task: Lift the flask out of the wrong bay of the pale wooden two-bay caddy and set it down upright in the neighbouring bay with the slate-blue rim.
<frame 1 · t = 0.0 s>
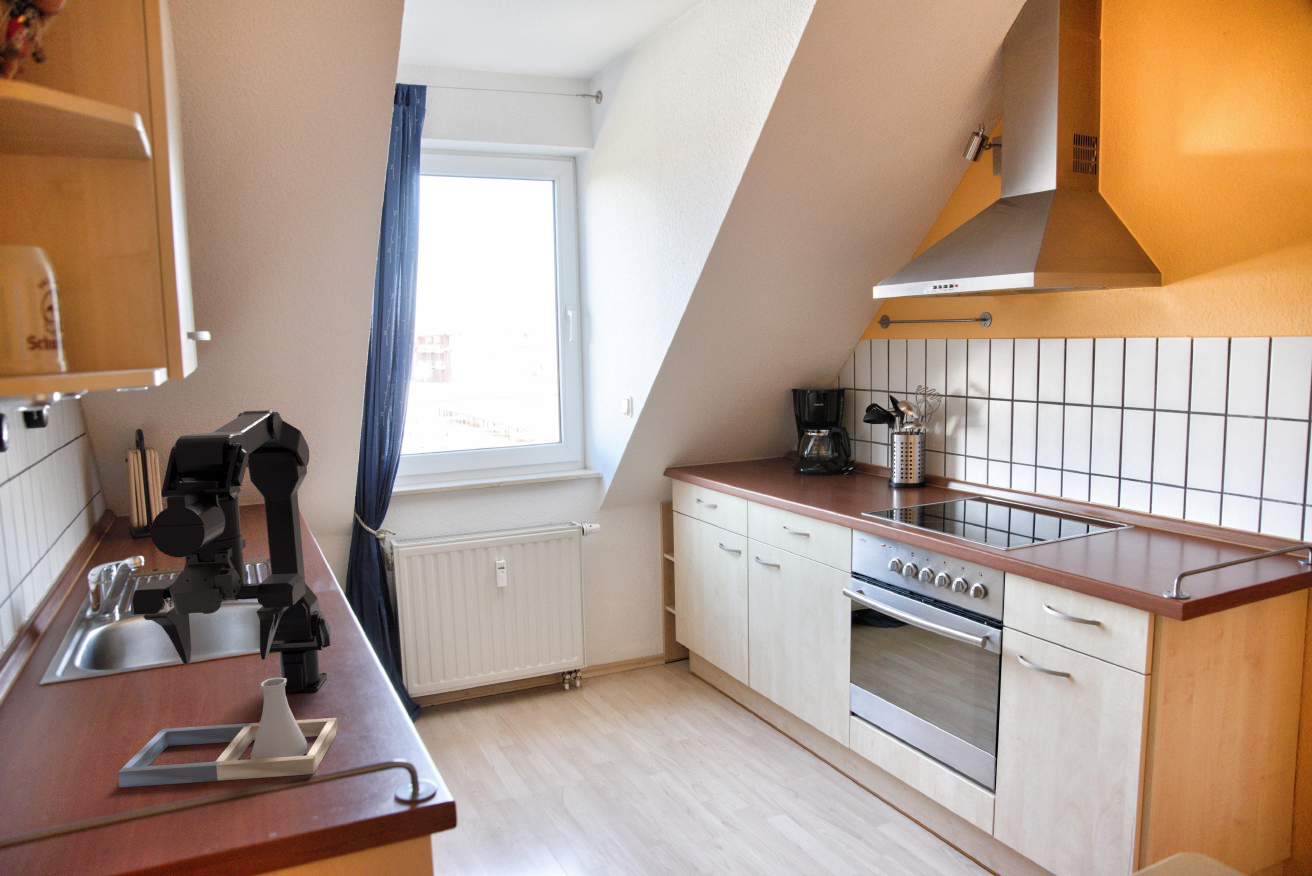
hand: (225, 660, 110), 15 cm above the worktop, tool pointing down, fingers open, 9 cm apart
flask: (279, 756, 117), on the worktop
caddy: (235, 757, 116), on the worktop
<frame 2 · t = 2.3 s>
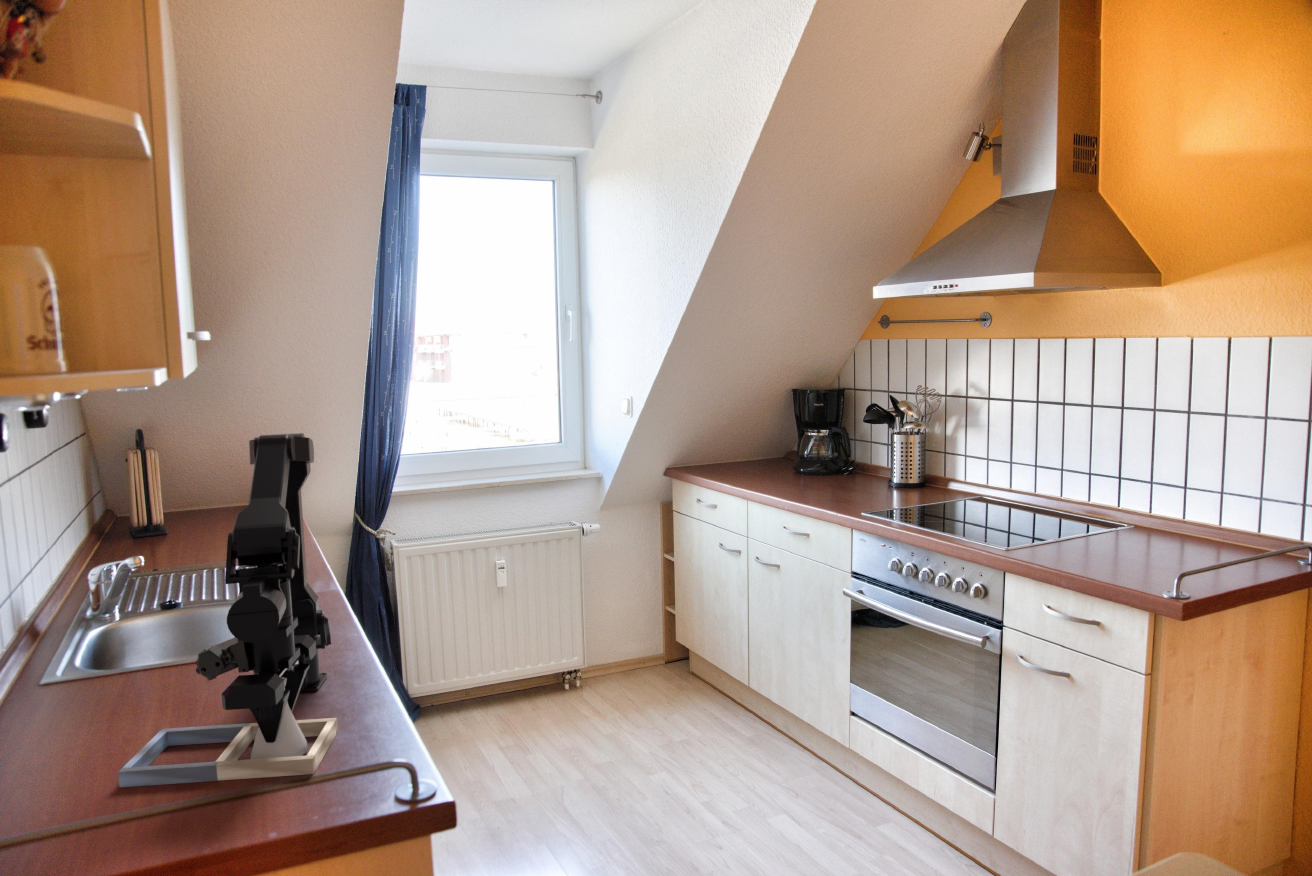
hand: (277, 732, 116), 3 cm above the worktop, tool pointing down, fingers closed on flask, 5 cm apart
flask: (279, 756, 117), on the worktop, touching gripper
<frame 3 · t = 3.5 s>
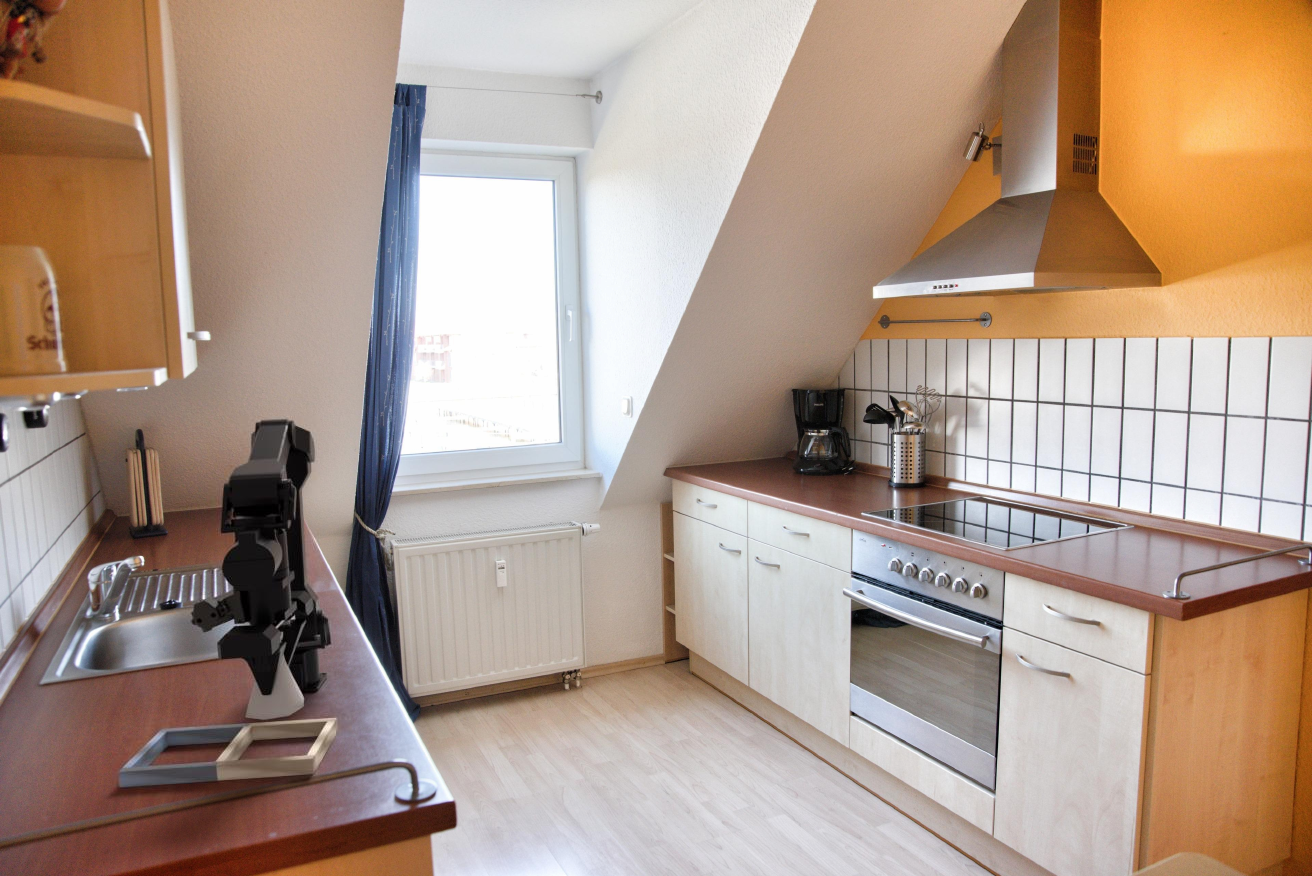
hand: (273, 686, 115), 9 cm above the worktop, tool pointing down, fingers closed on flask, 5 cm apart
flask: (275, 711, 116), point 6 cm above the worktop, touching gripper
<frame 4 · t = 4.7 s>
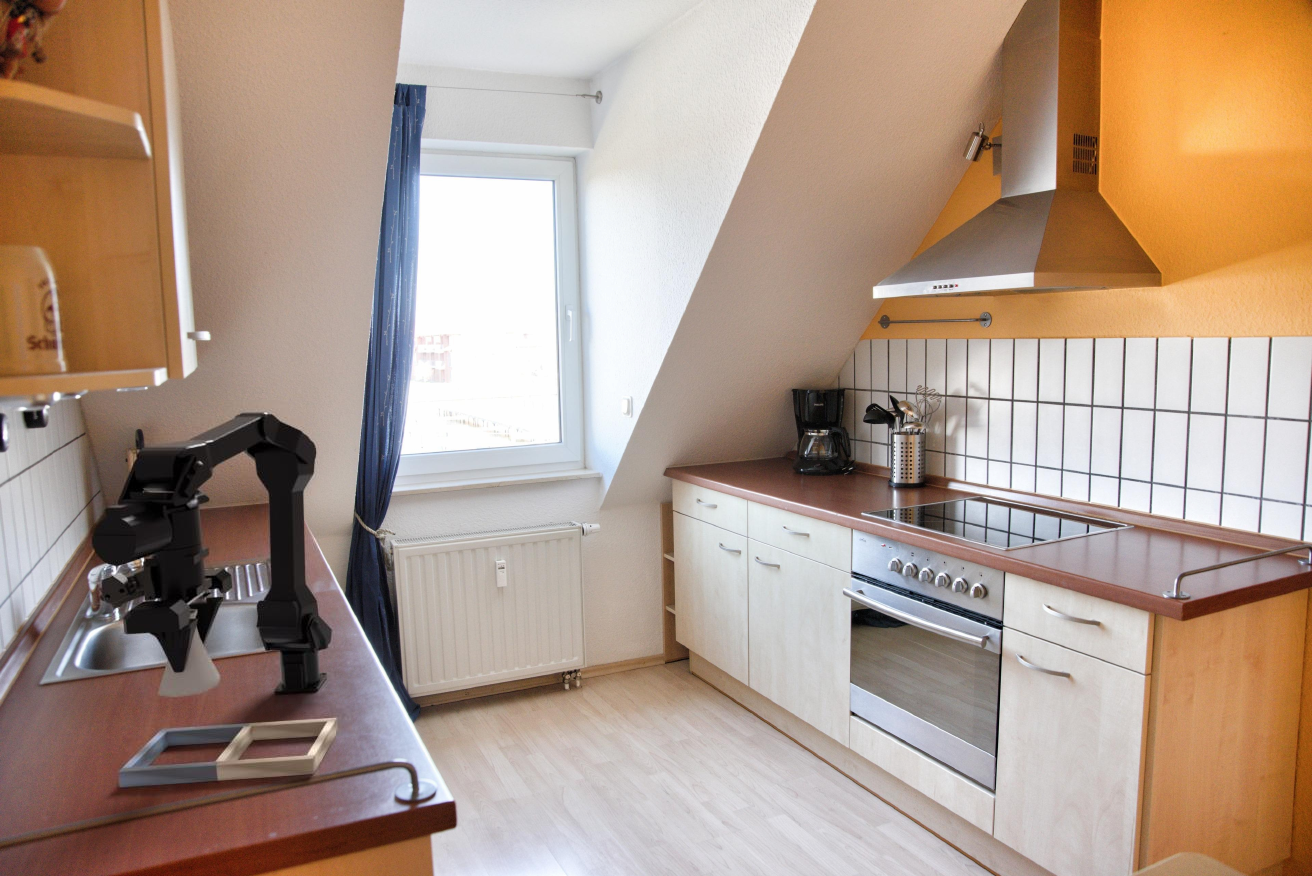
hand: (187, 664, 114), 13 cm above the worktop, tool pointing down, fingers closed on flask, 5 cm apart
flask: (190, 689, 114), point 10 cm above the worktop, touching gripper
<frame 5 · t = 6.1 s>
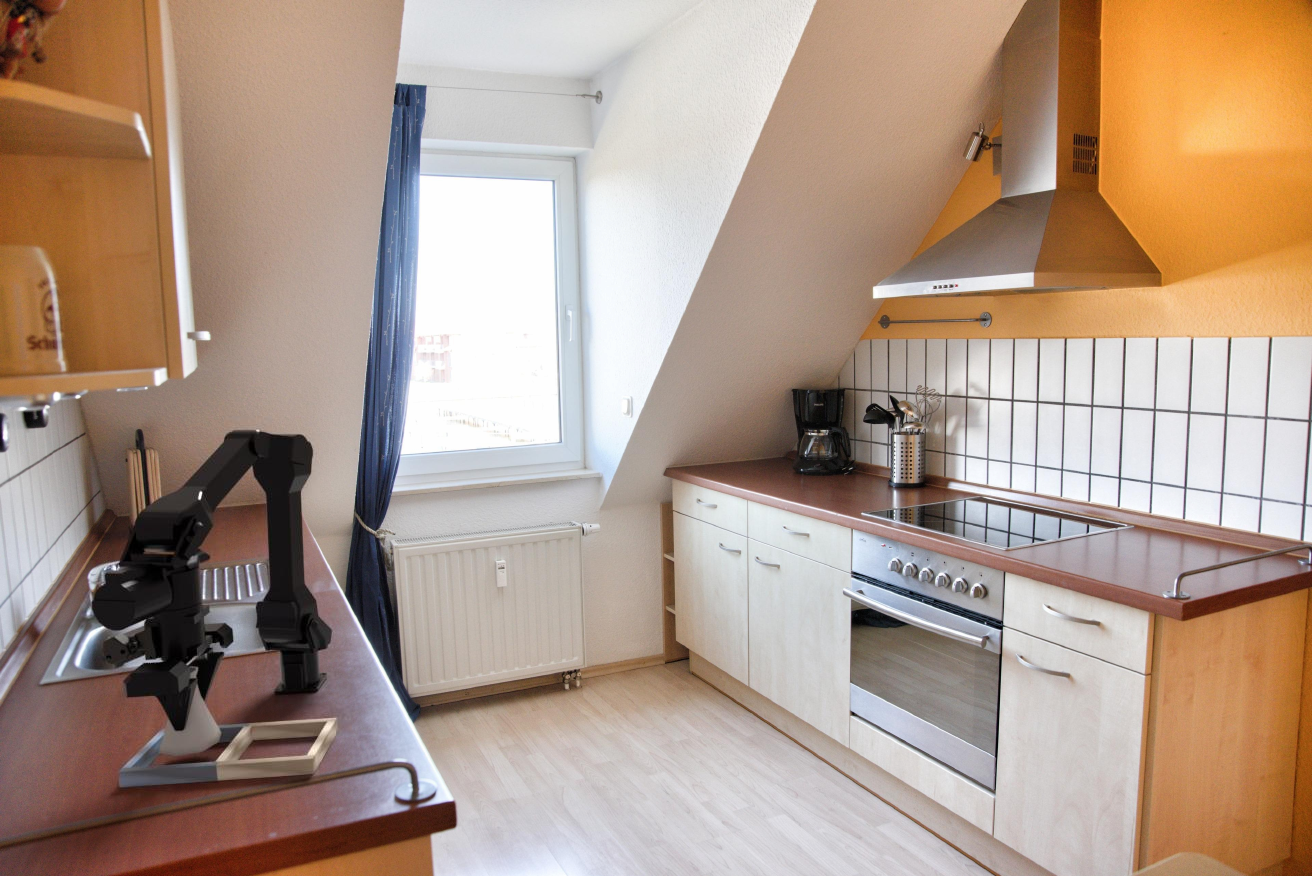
hand: (188, 721, 115), 5 cm above the worktop, tool pointing down, fingers closed on flask, 5 cm apart
flask: (190, 746, 115), point 2 cm above the worktop, touching gripper
when the fingers open (4 cm above the worktop, at t = 7.2 s): flask stays where it is, on the worktop.
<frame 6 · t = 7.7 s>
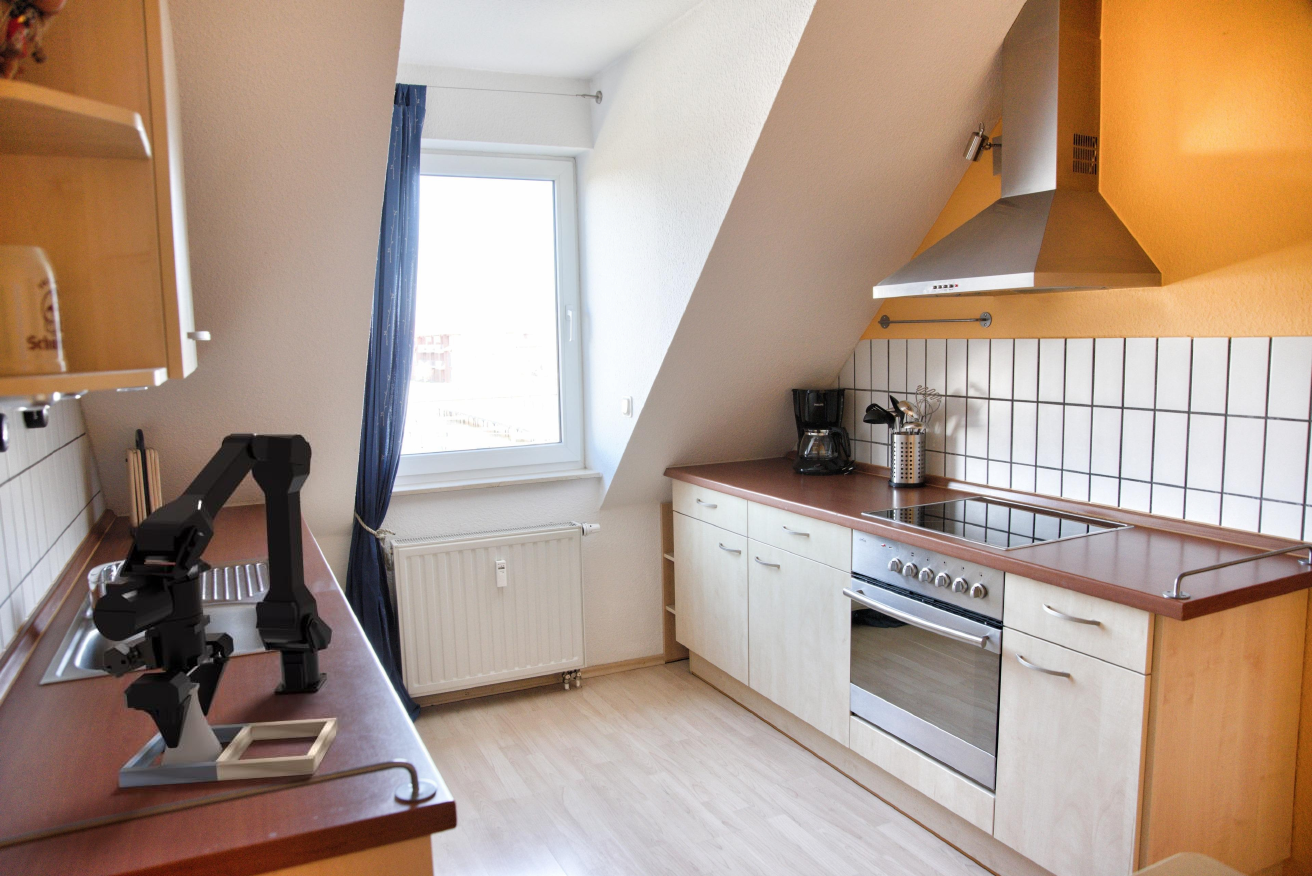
hand: (188, 731, 115), 4 cm above the worktop, tool pointing down, fingers open, 9 cm apart
flask: (192, 762, 116), on the worktop
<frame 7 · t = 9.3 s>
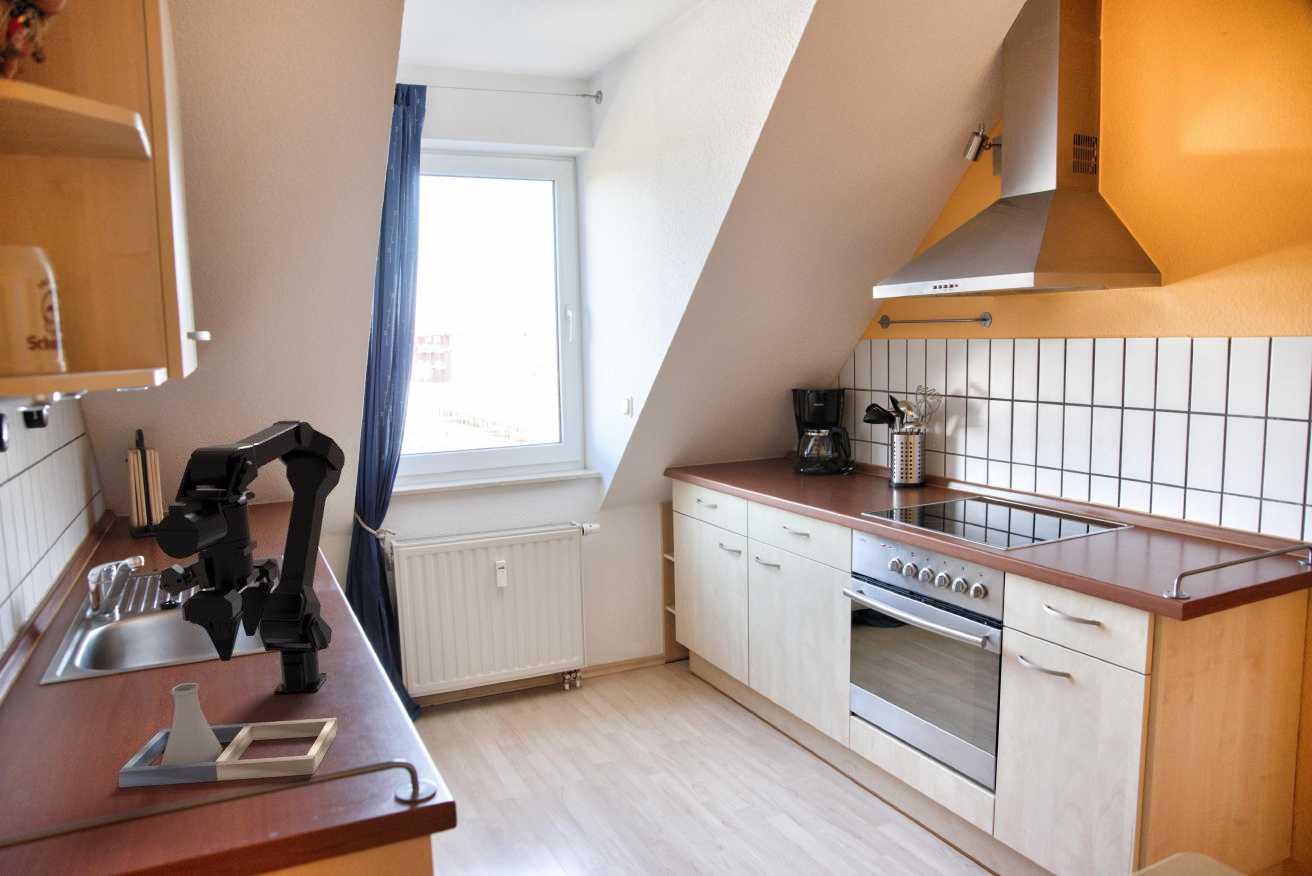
hand: (238, 647, 124), 12 cm above the worktop, tool pointing down, fingers open, 9 cm apart
nothing on the worktop moved.
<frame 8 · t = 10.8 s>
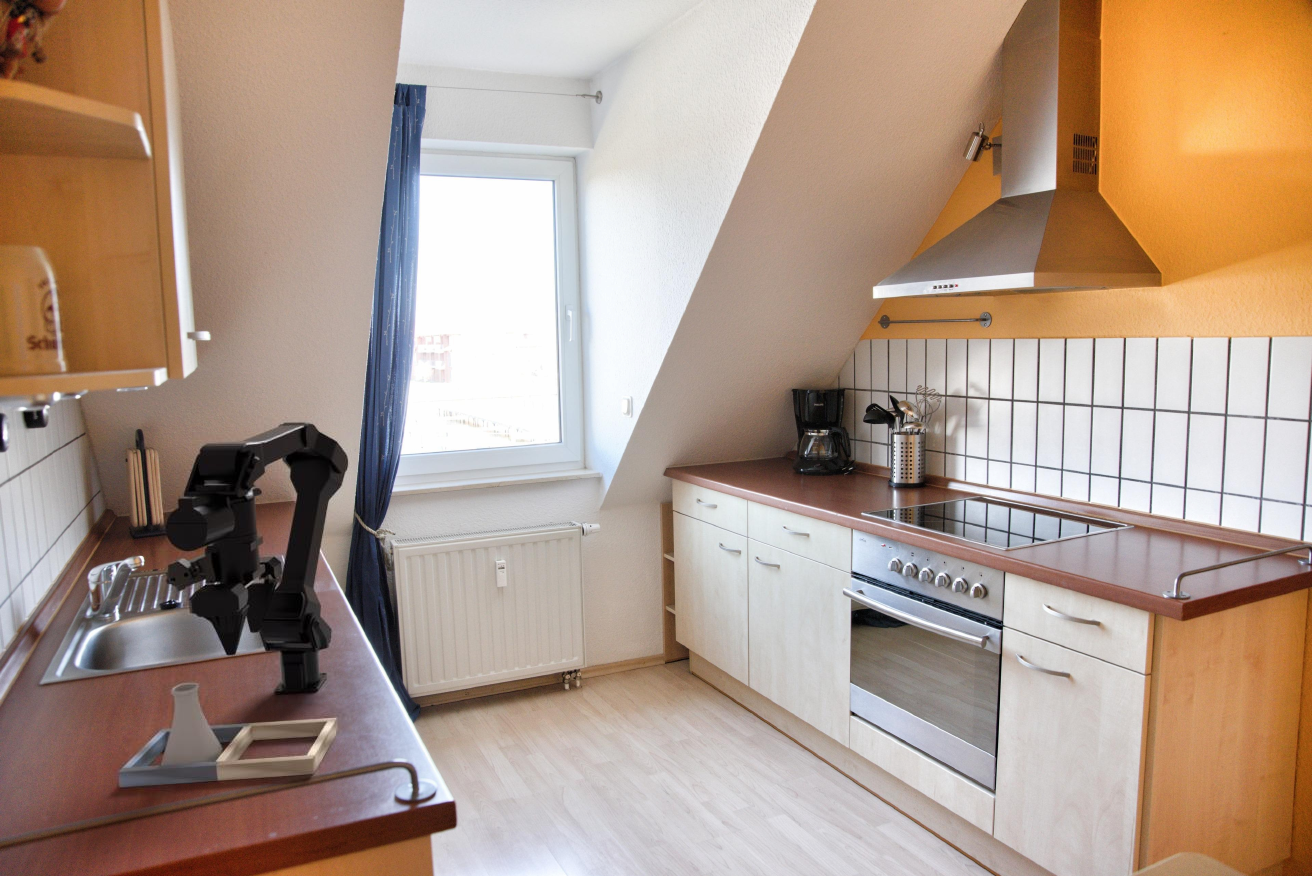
hand: (243, 643, 124), 12 cm above the worktop, tool pointing down, fingers open, 9 cm apart
nothing on the worktop moved.
at the end: flask inside the target area on the caddy (0.1 cm from its centre), point 0.0 cm above the caddy's base; flask tilted 0°; the gripper is holding nothing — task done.
